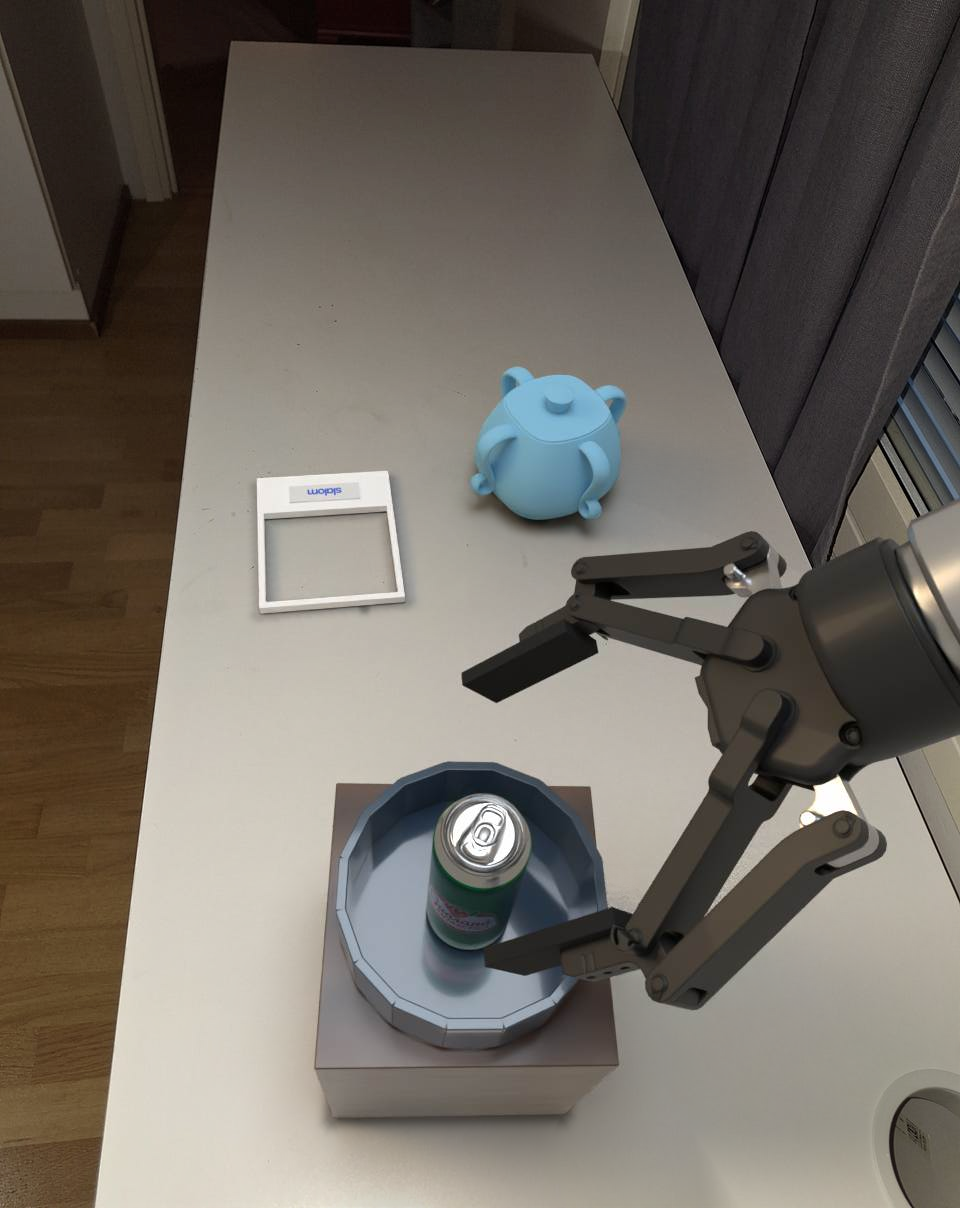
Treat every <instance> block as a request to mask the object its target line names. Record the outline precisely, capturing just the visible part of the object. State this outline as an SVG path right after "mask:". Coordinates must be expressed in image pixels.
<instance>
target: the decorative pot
mask: <svg viewBox="0 0 960 1208" xmlns="http://www.w3.org/2000/svg"><path fill="white" fill-rule="evenodd" d="M517 384H518V386H517ZM500 393H501V399H500V401H499V402H498V403H497V405H496V406H495V407H494V408H493V409H492V411H491V412H490V414H488V417H487V418H486V419H485V421H484V422H483V425H482V426H481V428H480V431H479V433H478V437H477V439H476V443H475V447H474V462H475V466H476V468H477V470H478V472H477V473H475V474H474V475H473V476H472V477H471V479H470V481H469V482H470V483H469V484H470V485H469V486H470V488H471V490H472V492H473V493H474V494H476V495H478V496H487V495H489V494H491V493H493V494H494V495H495V496H496V497H497V498H498V499H499V501H501V502H502V503H503V504H504V505H505V506H506V507H507V508H508V509H509V510H510V511H511V512H513V513H514V514H516V515H518V516H519V517H522V518H524V519H529V520H535V521H536V520H538V521H540V520H543V521H544V520H551V519H558V518H561V517H565V516H570V515H572V514H575V513H579V514H580V516H581V517H583V518H584V519H586V520H590V521H591V520H592V521H593V520H596V519H598V518H599V517H600V516H601V514H602V506H601V504H600V502H599V500H600V499H601V498H603V497H604V496H605V495H606V494H607V493H608V492H609V491H610V490H611V489H612V488H613V486H614V485H615V483H616V482H617V480H618V478H619V475H620V469H621V461H622V448H621V441H620V437H621V431H620V428H619V426H618V425H617V424H618V422H619V421H620V419H621V417H622V416H623V414H624V412H625V409H626V407H627V397H626V394H625V393H624V391H623V390H622V389H621V388H619V387H618V386H615V385H611V384H608V385H606V384H605V385H603V386H599V387H598V388H596V389H593V388H592V387H591V386H590V385H589V384H587V383H586V382H585V381H583V380H581V379H580V378H579V377H577V376H574V375H571V374H570V375H569V374H551V375H546V376H541V377H537V378H535V377H534V375H533V374H532V373H531V372H530V371H529V370H528V369H526V368H525V367H522V366H513V367H510V368H508V369H506V370H505V371H504V372H503V373H502V376H501V378H500ZM608 401H611V403H610V405H609V406H608V405H607V404H606V402H608Z"/></svg>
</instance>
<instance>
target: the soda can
mask: <svg viewBox="0 0 960 1208" xmlns="http://www.w3.org/2000/svg"><path fill="white" fill-rule="evenodd" d="M531 850H532V839H531V833H530V830H529V827H528V825H527V823H526V821H525V819H524V818H523V816H522V815H521V813H520V812H519V811H518V810H517V809H516V808H515V807H514V805H512V804H511V803H510V802H509V801H507V800H505V799H504V798H502V797H499V796H497V795H493V794H487V793H478V794H472V795H469V796H466V797H464V798H462V799H460V800H458V801H456V802H454V803H453V804H451V805H450V806H449V807H448V808H447V809H446V810H445V811H444V812H443V813H442V815H441V816H440V818H439V819H438V821H437V823H436V826H435V829H434V833H433V843H432V853H431V864H430V874H429V885H428V896H427V915H428V919H429V922H430V924H431V927H432V928H433V930H434V932H435V933H436V934H437V935H438V936H439V937H440V938H441V939H442V940H443V941H444V942H446V943H447V944H449V945H451V946H453V947H456V948H459V949H465V950H473V949H479V948H483V947H485V946H488V945H490V944H491V943H493V942H494V941H495V940H497V939H498V938H499V937H500V936H501V934H502V933H503V932H504V930H505V928H506V926H507V924H508V921H509V919H510V916H511V913H512V910H513V907H514V904H515V901H516V898H517V895H518V892H519V889H520V886H521V883H522V880H523V877H524V874H525V871H526V868H527V865H528V862H529V859H530V856H531Z"/></svg>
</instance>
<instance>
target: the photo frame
mask: <svg viewBox="0 0 960 1208" xmlns="http://www.w3.org/2000/svg"><path fill="white" fill-rule="evenodd" d="M256 506H257V507H256V508H257V509H256V510H257V513H256V514H257V564H258V566H257V568H258V569H257V570H258V571H257V572H258V609H259V614H272V613H273V614H274V613H284V612H298V611H311V610H321V609H335V608H347V607H357V606H358V607H360V606H373V605H383V604H385V605H386V604H395V603H397V604H398V603H405V602H406V594H405V589H404V588H405V587H404V580H403V571H402V565H401V558H400V549H399V543H398V535H397V528H396V521H395V512H394V506H393V498H392V491H391V483H390V477H389V471H388V470H378V471H377V470H375V471H359V472H357V471H356V472H343V473H342V472H341V473H340V472H339V473H325V474H323V473H322V474H306V475H289V476H288V475H287V476H273V477H272V476H271V477H257V478H256ZM381 512H386V515H387V524H388V531H389V539H390V546H391V548H390V549H391V554H392V563H393V569H394V577H395V578H394V579H395V584H396V585H395V586H396V591H393V592H392V591H391V592H381V593H379V592H377V593H367V594H366V593H365V594H354V595H341V596H327V597H318V598H317V597H316V598H304V599H303V598H302V599H290V600H277V601H276V600H275V601H267V567H266V566H267V565H266V564H267V563H266V529H265V528H266V525H265V524H266V522H265V520H271V519H286V518H305V517H318V516H321V517H322V516H334V515H335V516H336V515H351V514H365V513H381Z"/></svg>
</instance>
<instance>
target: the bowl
mask: <svg viewBox="0 0 960 1208" xmlns="http://www.w3.org/2000/svg"><path fill="white" fill-rule="evenodd" d="M391 784H392V785H391V786H390V787H389V788H388V789H387V790H386V791H384V792H383V793H382V794H381V795H380V796H379V797H378V798H376V799H375V800H374V801H373V802H372V803H371V804H370V805H369V806H367V807H366V808H365V809H364V810H363V812H361V814H360V816H359V818H358V820H357V822H356V824H355V826H354V828H353V830H352V832H351V834H350V836H349V838H348V840H347V842H346V844H345V846H344V848H343V850H342V852H341V854H340V856H339V861H338V875H337V889H336V903H335V913H336V919H337V925H338V932H339V937H340V940H341V943H342V946H343V949H344V952H345V955H346V958H347V962H348V965H349V967H350V969H351V972H352V975H353V978H354V981H355V984H356V985H357V987H358V988H359V989H360V990H361V991H362V993H363V994H364V995H365V997H366V998H367V999H368V1001H369V1002H370V1003H371V1004H372V1006H373V1007H374V1008H375V1009H376V1010H377V1011H378V1012H379V1013H380V1014H381V1015H382V1016H383V1017H384V1018H385V1019H386V1020H388V1021H389V1022H390V1024H393V1026H395V1027H397V1028H399V1029H400V1030H401V1031H403V1032H405V1033H407V1034H409V1035H411V1036H413V1037H415V1038H416V1039H419V1040H422V1041H425V1042H427V1043H430V1044H433V1045H437V1046H440V1047H443V1048H453V1049H480V1048H488V1047H496V1046H500V1045H502V1044H505V1043H507V1042H510V1041H513V1040H515V1039H518V1038H520V1037H522V1036H524V1035H525V1034H527V1033H529V1032H531V1031H532V1030H534V1029H536V1028H538V1027H540V1026H542V1025H544V1024H545V1023H546V1022H547V1021H548V1020H549V1019H550V1018H551V1016H552V1015H553V1014H554V1013H555V1012H556V1011H557V1009H558V1008H559V1007H560V1006H561V1005H562V1004H563V1002H564V1001H565V1000H566V999H567V998H568V996H569V995H570V994H571V993H572V992H573V991H574V989H575V988H576V987H577V986H578V984H579V983H580V981H581V980H582V979H579V978H575V977H571V976H567V975H563V972H562V965H561V966H557V967H554V968H550V969H547V970H544V971H540V972H537V973H533V974H530V975H527V976H523V975H518V974H514V973H510V972H505V971H501V970H496V969H492V968H487V967H485V961H484V949H483V948H486V947H489V946H492V945H495V944H498V943H502V942H505V941H508V940H511V939H514V938H517V937H520V936H523V935H526V934H529V933H533V932H536V931H539V930H542V929H545V928H548V927H551V926H554V925H557V924H560V923H564V922H567V921H570V920H573V919H576V918H579V917H582V916H585V915H588V914H592V913H595V912H598V911H601V910H604V909H607V908H609V906H608V898H607V888H606V879H605V870H604V860H603V857H602V855H601V853H600V851H599V850H598V847H596V846H595V844H594V842H593V840H592V838H591V836H590V834H589V832H588V830H587V828H586V826H585V825H584V823H583V821H582V819H581V817H580V815H579V814H578V812H576V811H575V810H574V809H573V808H572V807H571V806H570V805H569V804H567V803H566V802H565V801H564V800H563V799H562V798H561V797H560V796H558V795H557V794H556V793H555V792H554V791H553V790H552V789H551V788H549V787H548V786H549V785H547V784H546V783H545V782H544V781H543V780H541V779H539V778H537V777H534V776H532V775H530V774H526V773H524V772H522V771H519V770H517V769H514V768H512V767H509V766H506V765H504V764H502V763H498V762H494V761H452V760H451V761H444V762H441V763H438V764H435V765H432V766H430V767H427V768H424V769H421V770H419V771H416V772H413V773H411V774H407V775H404V776H401V777H399V778H398V779H397V780H396V781H395V782H394V783H391ZM478 793H487V794H493V795H497V796H499V797H502V798H504V799H505V800H507V801H509V802H510V803H511V804H512V805H514V807H515V808H516V809H517V810H518V811H519V812H520V813H521V815H522V816H523V818H524V819H525V821H526V823H527V825H528V827H529V830H530V833H531V839H532V850H531V856H530V859H529V862H528V865H527V868H526V871H525V874H524V877H523V880H522V883H521V886H520V889H519V892H518V895H517V898H516V901H515V904H514V907H513V910H512V913H511V916H510V919H509V921H508V924H507V926H506V928H505V930H504V932H503V933H502V934H501V936H500V937H499V938H498V939H497V940H495V941H494V942H493V943H491V944H490V945H488V946H485V947H483V948H479V949H473V950H465V949H459V948H456V947H453V946H451V945H449V944H447V943H446V942H444V941H443V940H442V939H441V938H440V937H439V936H438V935H437V934H436V933H435V932H434V930H433V928H432V927H431V924H430V922H429V919H428V915H427V896H428V885H429V874H430V864H431V853H432V843H433V833H434V829H435V826H436V823H437V821H438V819H439V818H440V816H441V815H442V813H443V812H444V811H445V810H446V809H447V808H448V807H449V806H450V805H451V804H453V803H454V802H456V801H458V800H460V799H462V798H464V797H466V796H469V795H472V794H478Z"/></svg>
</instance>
